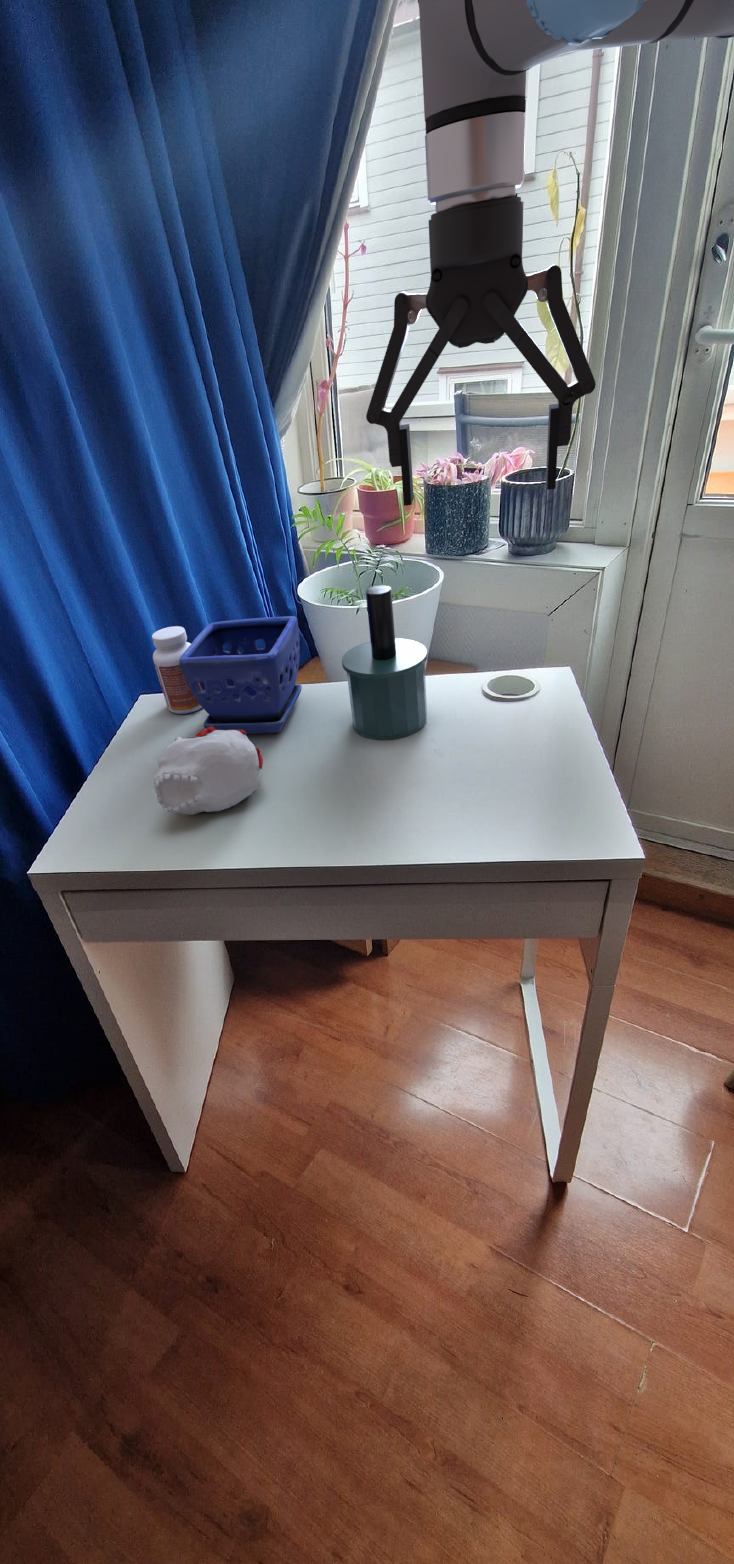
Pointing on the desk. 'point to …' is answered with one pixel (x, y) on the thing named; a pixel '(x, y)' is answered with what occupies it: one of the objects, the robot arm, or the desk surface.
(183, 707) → the pill bottle
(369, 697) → the pot
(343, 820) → the desk surface
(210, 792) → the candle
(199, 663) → the flower pot
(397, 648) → the lid
